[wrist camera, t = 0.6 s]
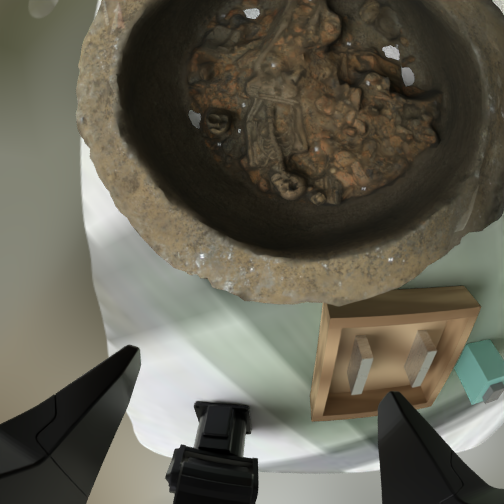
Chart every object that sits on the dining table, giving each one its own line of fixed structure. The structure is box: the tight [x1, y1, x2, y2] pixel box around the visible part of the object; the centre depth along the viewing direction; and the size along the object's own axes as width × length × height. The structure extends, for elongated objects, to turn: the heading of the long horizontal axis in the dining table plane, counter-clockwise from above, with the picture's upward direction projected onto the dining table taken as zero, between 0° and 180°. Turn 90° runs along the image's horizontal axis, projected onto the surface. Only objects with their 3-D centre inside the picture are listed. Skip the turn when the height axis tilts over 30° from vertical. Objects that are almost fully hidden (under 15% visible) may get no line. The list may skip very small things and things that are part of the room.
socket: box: [347, 330, 437, 395], centre depth 24 cm, size 5×7×3 cm
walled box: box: [310, 286, 481, 421], centre depth 24 cm, size 14×14×4 cm
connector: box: [454, 339, 504, 405], centre depth 23 cm, size 4×4×7 cm
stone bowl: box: [76, 0, 504, 307], centre depth 14 cm, size 25×25×9 cm
